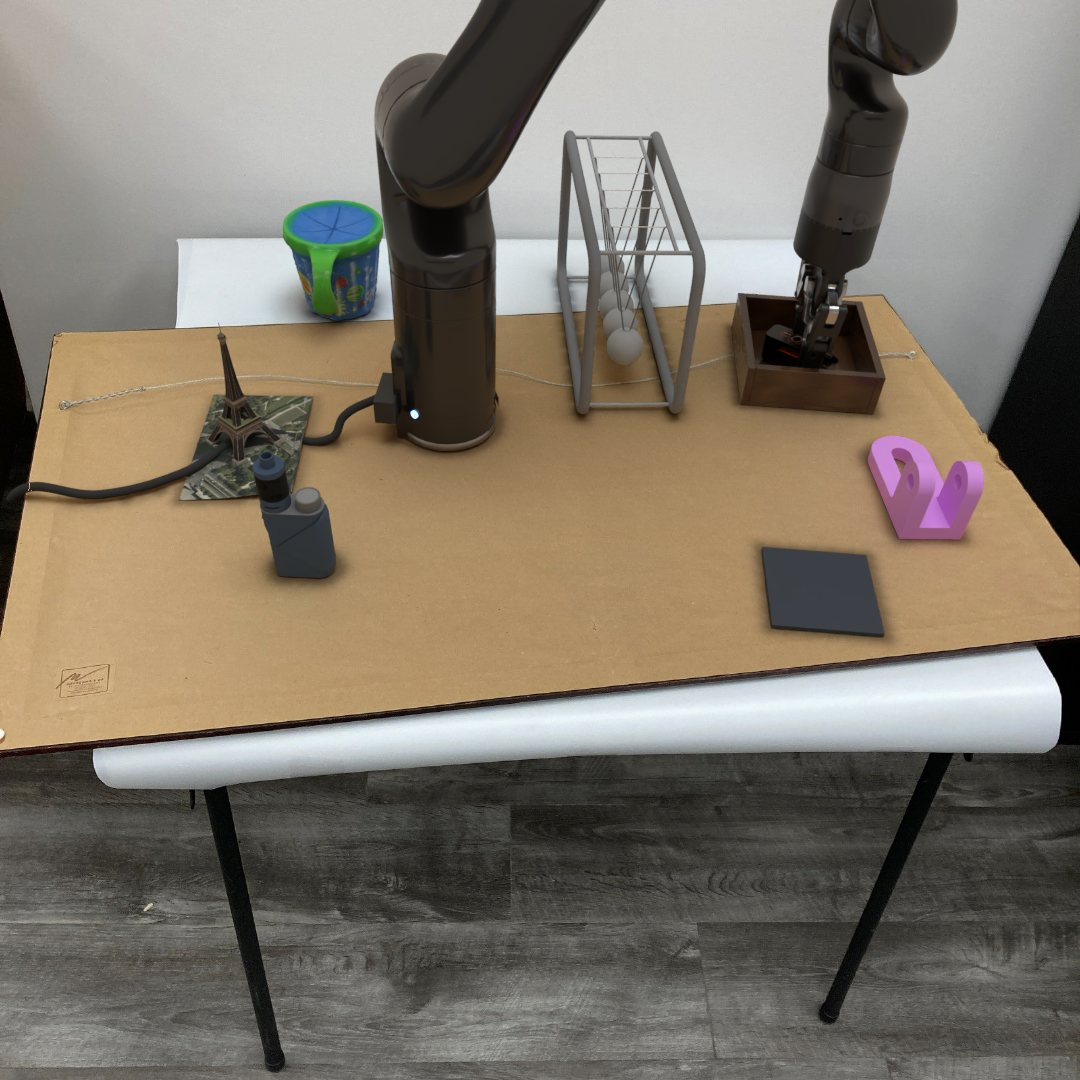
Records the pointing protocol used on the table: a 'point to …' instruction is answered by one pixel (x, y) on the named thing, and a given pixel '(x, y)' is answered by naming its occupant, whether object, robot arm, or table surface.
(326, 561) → the vaping device
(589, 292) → the newton's cradle
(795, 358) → the black electronic gadget
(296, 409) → the eiffel tower figurine
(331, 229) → the snack cup
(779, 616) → the pad
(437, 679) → the table surface
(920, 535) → the bracket
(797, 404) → the wooden box
